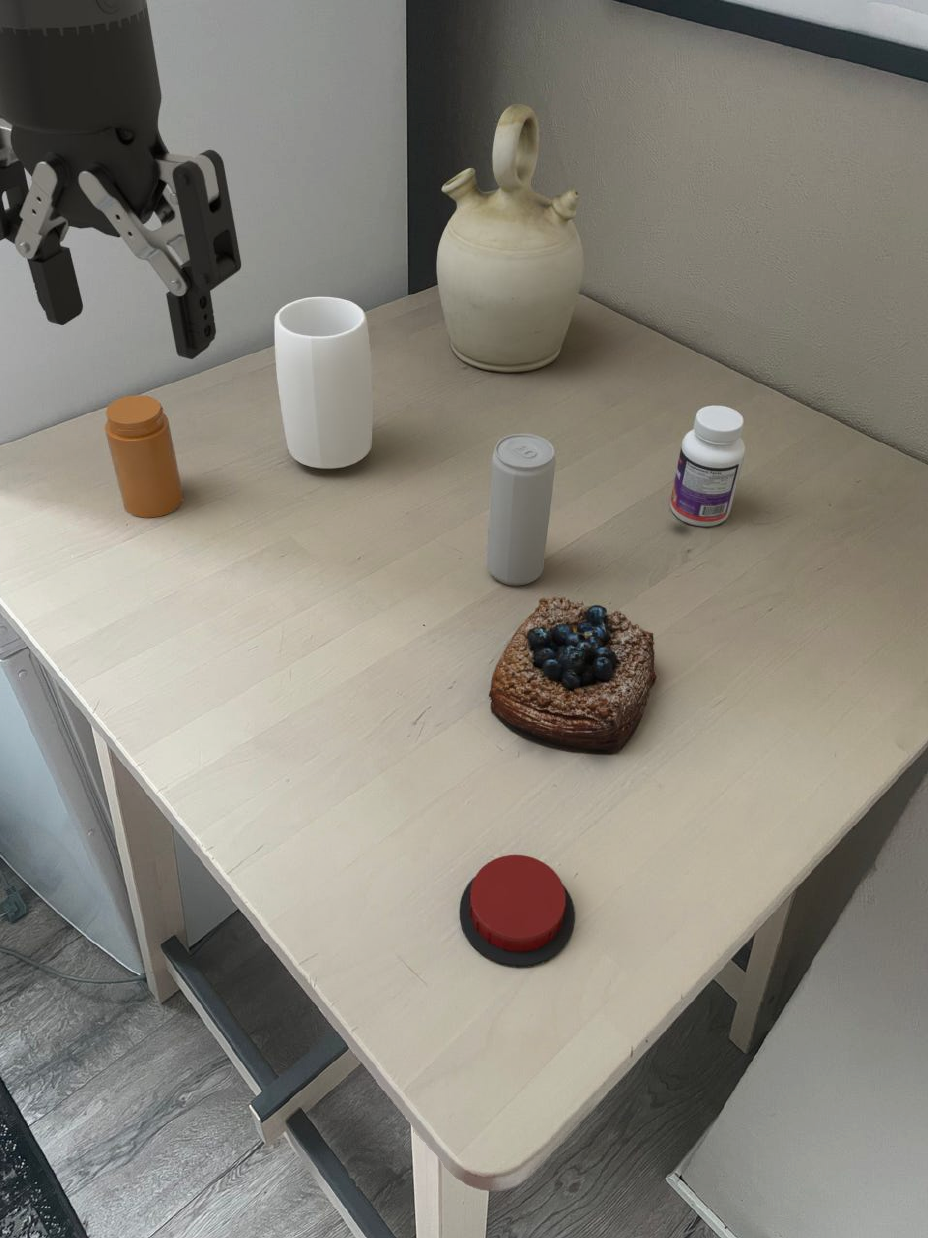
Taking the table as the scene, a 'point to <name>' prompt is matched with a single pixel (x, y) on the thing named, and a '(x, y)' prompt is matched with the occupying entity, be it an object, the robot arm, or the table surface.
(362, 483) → the table surface
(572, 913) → the coaster
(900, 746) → the table surface
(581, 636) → the pastry
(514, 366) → the jug
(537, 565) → the beverage can
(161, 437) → the jam jar
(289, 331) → the cup
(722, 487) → the pill bottle
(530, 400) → the table surface
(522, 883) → the jar lid
